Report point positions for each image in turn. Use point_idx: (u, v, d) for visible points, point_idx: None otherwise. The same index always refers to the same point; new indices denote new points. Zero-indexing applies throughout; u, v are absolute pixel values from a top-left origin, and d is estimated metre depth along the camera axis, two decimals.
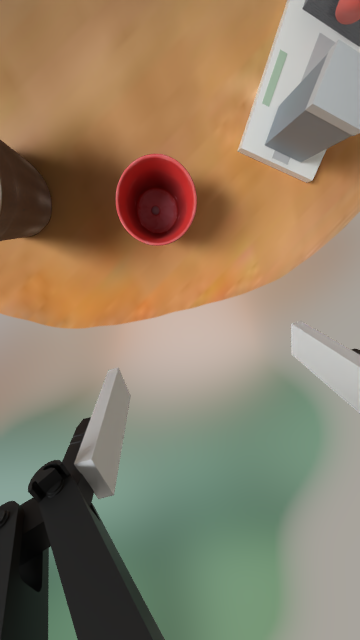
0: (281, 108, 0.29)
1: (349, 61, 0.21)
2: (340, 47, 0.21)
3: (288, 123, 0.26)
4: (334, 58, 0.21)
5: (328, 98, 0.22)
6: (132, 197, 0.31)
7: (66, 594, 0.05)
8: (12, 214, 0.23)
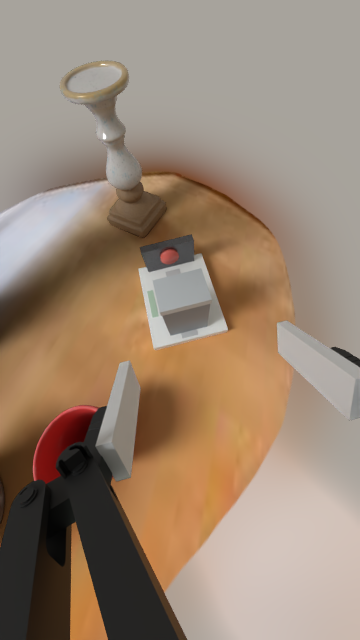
0: None
1: (168, 282, 0.28)
2: (156, 282, 0.29)
3: (165, 323, 0.31)
4: (156, 287, 0.28)
5: (169, 303, 0.27)
6: None
7: (89, 565, 0.06)
8: None
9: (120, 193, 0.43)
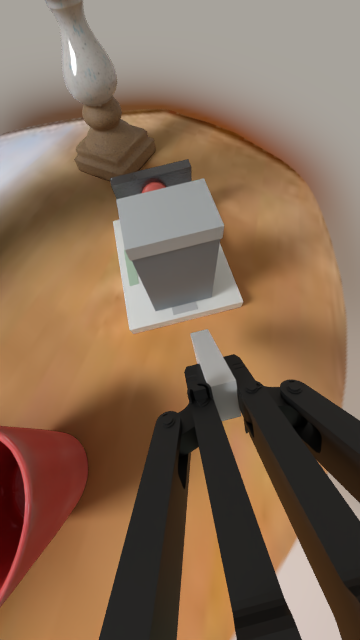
0: None
1: (143, 201, 0.16)
2: (123, 201, 0.16)
3: None
4: (122, 210, 0.16)
5: (143, 234, 0.14)
6: None
7: (205, 473, 0.07)
8: None
9: (87, 113, 0.30)
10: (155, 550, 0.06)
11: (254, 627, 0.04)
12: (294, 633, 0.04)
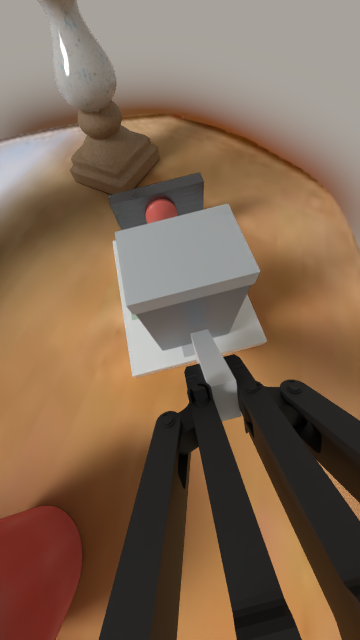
0: None
1: (150, 235, 0.12)
2: (123, 235, 0.12)
3: None
4: (123, 247, 0.12)
5: (151, 282, 0.11)
6: None
7: (205, 473, 0.07)
8: None
9: (83, 119, 0.27)
10: (155, 550, 0.06)
11: (254, 626, 0.04)
12: (294, 633, 0.04)
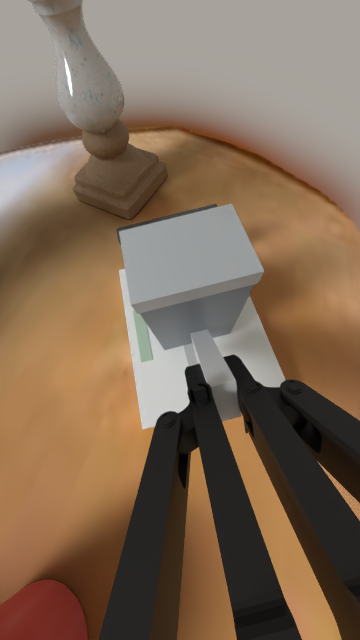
0: None
1: (154, 234, 0.12)
2: (128, 234, 0.12)
3: (151, 329, 0.15)
4: (127, 246, 0.12)
5: (155, 281, 0.11)
6: None
7: (205, 473, 0.07)
8: None
9: (88, 139, 0.25)
10: (155, 550, 0.06)
11: (254, 627, 0.04)
12: (294, 633, 0.04)
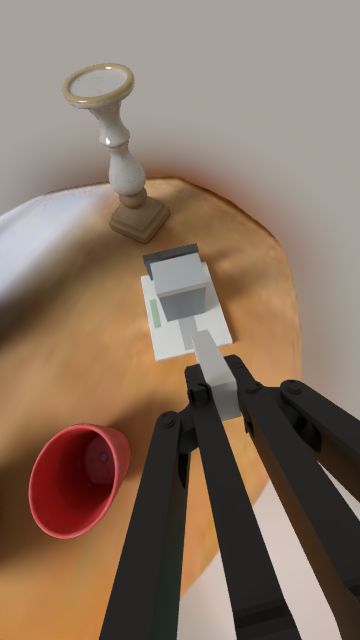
0: None
1: (165, 265, 0.29)
2: (154, 265, 0.29)
3: (162, 306, 0.32)
4: (154, 270, 0.29)
5: (165, 285, 0.28)
6: (67, 467, 0.28)
7: (205, 473, 0.07)
8: None
9: (123, 198, 0.42)
10: (155, 550, 0.06)
11: (254, 627, 0.04)
12: (294, 633, 0.04)
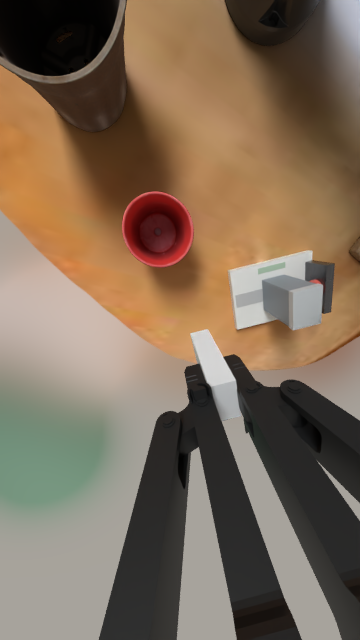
0: (283, 277, 0.42)
1: (317, 297, 0.34)
2: (320, 288, 0.34)
3: (278, 286, 0.38)
4: (315, 288, 0.34)
5: (298, 299, 0.34)
6: (153, 207, 0.34)
7: (205, 473, 0.07)
8: (62, 95, 0.22)
9: None
10: (155, 550, 0.06)
11: (254, 627, 0.04)
12: (294, 633, 0.04)
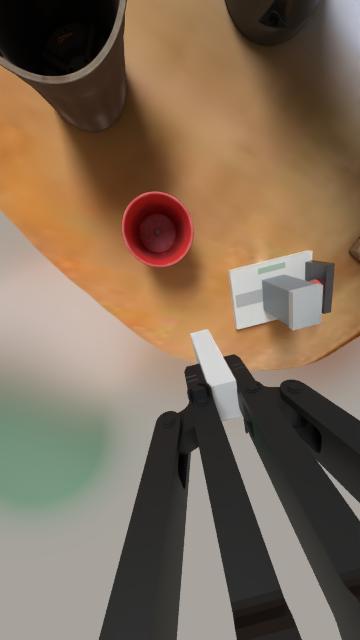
0: (283, 277, 0.42)
1: (317, 297, 0.34)
2: (320, 288, 0.34)
3: (278, 286, 0.38)
4: (315, 288, 0.34)
5: (298, 299, 0.34)
6: (153, 207, 0.34)
7: (205, 473, 0.07)
8: (62, 95, 0.22)
9: None
10: (155, 550, 0.06)
11: (254, 627, 0.04)
12: (294, 633, 0.04)
